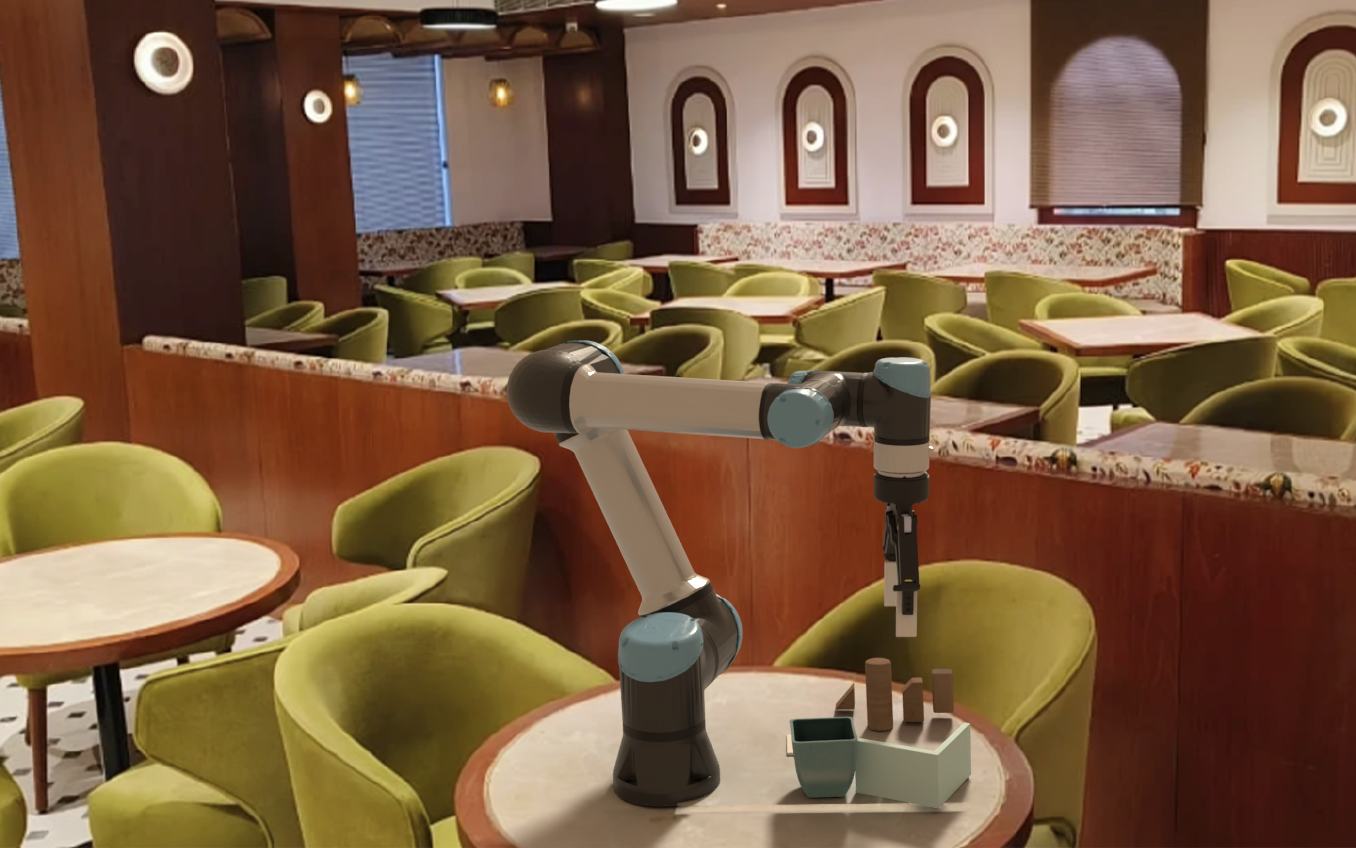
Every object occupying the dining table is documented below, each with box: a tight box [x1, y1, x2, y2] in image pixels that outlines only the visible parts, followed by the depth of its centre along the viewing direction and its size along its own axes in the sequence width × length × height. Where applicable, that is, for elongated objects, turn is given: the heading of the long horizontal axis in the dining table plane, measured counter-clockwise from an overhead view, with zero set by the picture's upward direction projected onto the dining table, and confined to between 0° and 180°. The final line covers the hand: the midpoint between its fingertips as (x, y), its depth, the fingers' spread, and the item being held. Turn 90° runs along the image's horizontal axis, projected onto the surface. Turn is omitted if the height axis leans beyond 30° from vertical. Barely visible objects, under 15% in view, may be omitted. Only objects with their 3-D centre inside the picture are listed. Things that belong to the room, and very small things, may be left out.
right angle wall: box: [854, 722, 972, 809], centre depth 200 cm, size 12×12×8 cm
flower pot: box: [789, 716, 859, 799], centre depth 199 cm, size 9×9×9 cm
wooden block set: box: [834, 657, 955, 732], centre depth 222 cm, size 18×9×10 cm, turn 82°
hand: (899, 620), depth 203 cm, fingers open, 13 cm apart
